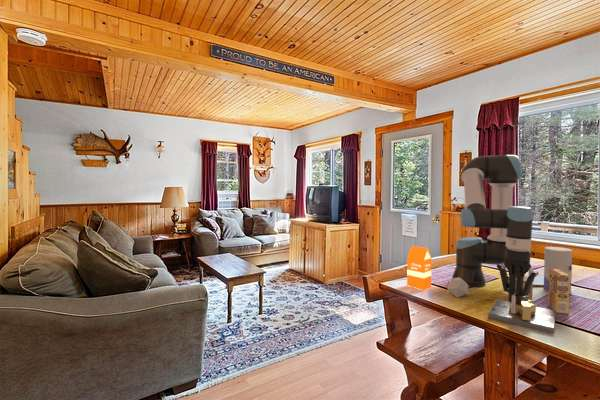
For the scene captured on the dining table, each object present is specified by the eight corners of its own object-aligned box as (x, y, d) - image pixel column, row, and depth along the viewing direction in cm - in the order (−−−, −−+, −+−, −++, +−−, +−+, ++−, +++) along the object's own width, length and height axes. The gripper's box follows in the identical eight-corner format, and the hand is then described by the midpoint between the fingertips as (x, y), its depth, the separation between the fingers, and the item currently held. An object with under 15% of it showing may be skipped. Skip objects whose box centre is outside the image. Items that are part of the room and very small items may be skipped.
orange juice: (423, 290, 148) (424, 249, 147) (406, 286, 155) (407, 246, 154) (431, 287, 153) (431, 247, 152) (414, 283, 160) (414, 244, 159)
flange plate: (488, 318, 116) (488, 297, 116) (497, 303, 131) (497, 284, 130) (553, 333, 104) (554, 310, 104) (555, 315, 118) (556, 294, 118)
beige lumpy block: (508, 305, 123) (508, 293, 122) (533, 309, 119) (533, 296, 119) (512, 318, 111) (513, 304, 111) (540, 322, 107) (540, 308, 107)
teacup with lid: (531, 303, 131) (532, 276, 130) (506, 298, 137) (506, 272, 136) (534, 296, 139) (535, 270, 139) (510, 291, 146) (511, 267, 145)
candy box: (569, 314, 119) (570, 275, 119) (556, 312, 121) (556, 274, 120) (559, 306, 128) (560, 269, 127) (547, 304, 129) (548, 268, 129)
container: (576, 294, 141) (577, 250, 140) (551, 293, 143) (552, 250, 142) (562, 287, 151) (563, 246, 150) (539, 286, 153) (540, 246, 152)
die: (456, 292, 147) (444, 276, 147) (474, 287, 142) (461, 270, 142) (454, 303, 141) (441, 287, 141) (472, 298, 135) (459, 281, 135)
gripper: (494, 246, 115) (491, 308, 117) (533, 254, 105) (529, 321, 106) (504, 244, 119) (501, 304, 121) (543, 251, 109) (539, 316, 110)
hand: (514, 312), depth 114 cm, fingers closed
